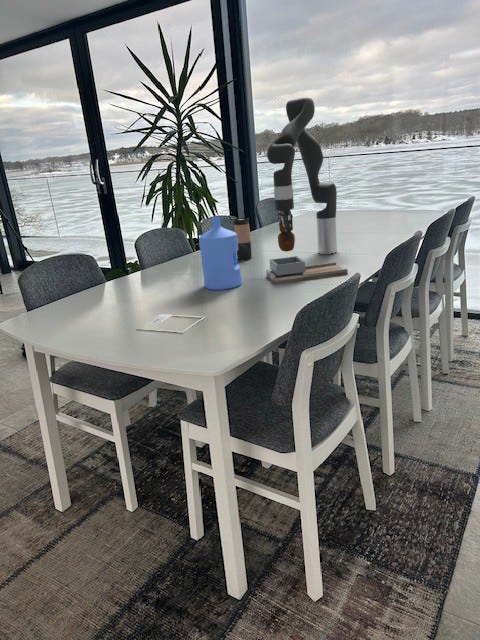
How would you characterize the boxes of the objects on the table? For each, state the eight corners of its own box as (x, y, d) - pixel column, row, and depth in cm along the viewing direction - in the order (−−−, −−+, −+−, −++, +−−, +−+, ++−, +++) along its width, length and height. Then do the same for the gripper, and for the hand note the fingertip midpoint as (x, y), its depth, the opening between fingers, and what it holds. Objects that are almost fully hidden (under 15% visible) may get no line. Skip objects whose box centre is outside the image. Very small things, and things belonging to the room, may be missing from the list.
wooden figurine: (296, 248, 206) (294, 212, 202) (293, 252, 201) (291, 214, 196) (280, 249, 209) (278, 213, 204) (277, 252, 204) (274, 215, 199)
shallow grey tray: (270, 273, 213) (269, 259, 211) (297, 269, 215) (296, 256, 213) (277, 280, 202) (276, 265, 200) (305, 276, 203) (305, 261, 201)
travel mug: (254, 257, 253) (251, 217, 246) (248, 260, 246) (244, 219, 240) (241, 257, 256) (237, 217, 250) (234, 260, 250) (230, 220, 243)
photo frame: (161, 313, 176) (205, 316, 169) (161, 316, 177) (205, 319, 169) (136, 327, 164) (183, 331, 156) (136, 331, 164) (183, 334, 157)
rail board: (266, 276, 214) (266, 269, 213) (335, 267, 218) (335, 260, 217) (274, 284, 201) (273, 277, 200) (347, 274, 205) (347, 267, 204)
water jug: (214, 293, 197) (205, 221, 188) (198, 285, 211) (190, 218, 201) (248, 285, 204) (242, 215, 194) (231, 278, 217) (225, 213, 208)
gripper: (270, 197, 204) (273, 237, 210) (278, 200, 191) (281, 243, 196) (288, 195, 205) (290, 235, 211) (297, 197, 192) (300, 240, 197)
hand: (286, 239), depth 203 cm, fingers closed on wooden figurine, 6 cm apart
